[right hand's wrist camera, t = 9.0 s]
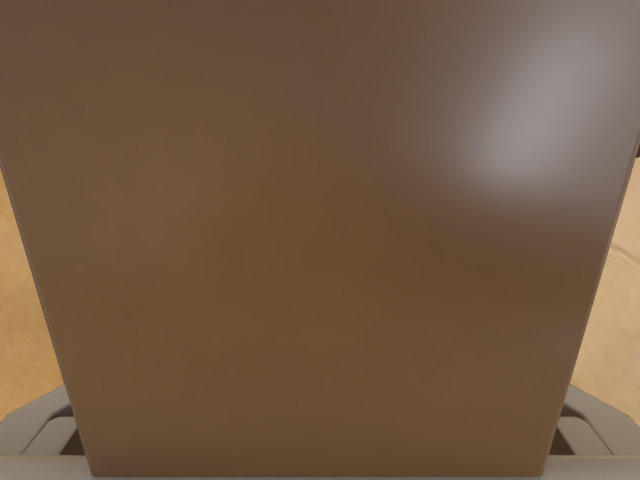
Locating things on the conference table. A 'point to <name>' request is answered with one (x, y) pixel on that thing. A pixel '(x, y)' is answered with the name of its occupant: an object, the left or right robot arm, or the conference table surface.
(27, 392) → the conference table surface
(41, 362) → the conference table surface
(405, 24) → the bar
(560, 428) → the right robot arm
